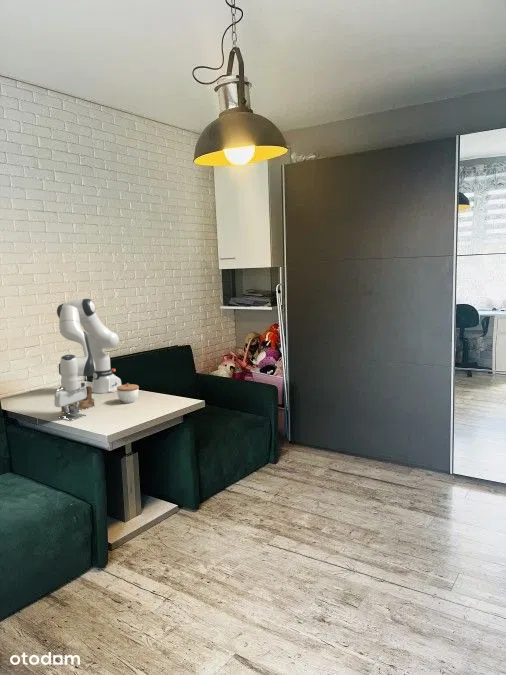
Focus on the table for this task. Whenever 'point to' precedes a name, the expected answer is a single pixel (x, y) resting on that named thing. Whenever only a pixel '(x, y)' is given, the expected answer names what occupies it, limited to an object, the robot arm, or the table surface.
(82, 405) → the plane body
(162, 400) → the table surface
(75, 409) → the lever cap
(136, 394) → the lidded bowl
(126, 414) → the table surface
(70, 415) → the felt mat
